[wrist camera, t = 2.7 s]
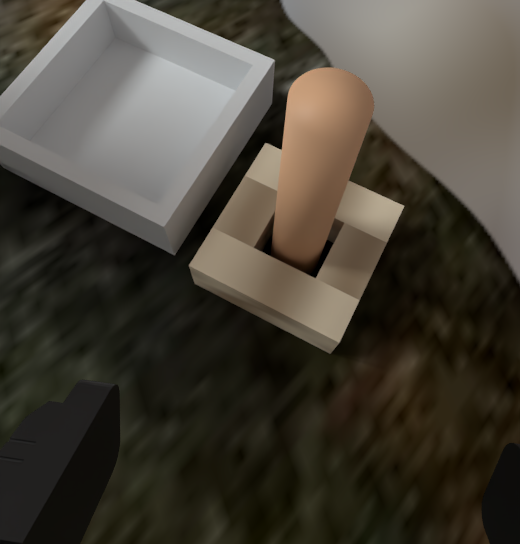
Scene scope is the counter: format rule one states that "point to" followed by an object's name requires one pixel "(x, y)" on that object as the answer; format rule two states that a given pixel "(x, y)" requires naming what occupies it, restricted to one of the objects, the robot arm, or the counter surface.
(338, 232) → the dowel holder
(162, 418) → the counter surface
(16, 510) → the robot arm
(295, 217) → the dowel
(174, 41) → the tray
